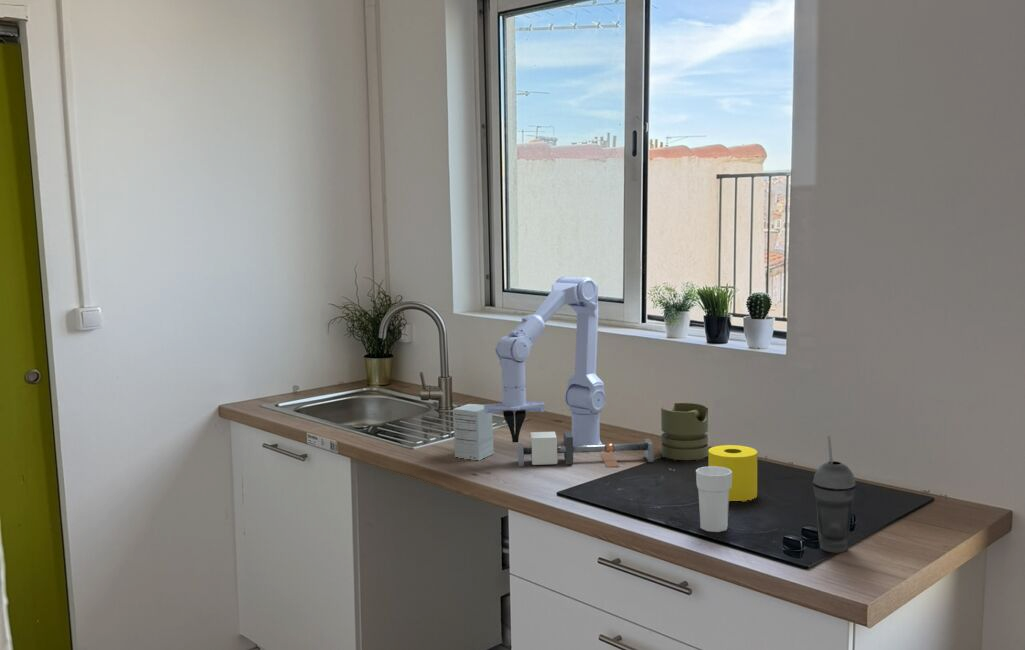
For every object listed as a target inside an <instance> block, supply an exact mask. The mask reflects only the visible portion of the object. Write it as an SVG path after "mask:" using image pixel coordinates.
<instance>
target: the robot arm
mask: <svg viewBox="0 0 1025 650" xmlns="http://www.w3.org/2000/svg"><path fill="white" fill-rule="evenodd" d="M598 301H599V285H598V284H597V283H596V281H595V280H593V278H591V277H588V276H587V277H574V276H573V277H572V276H565V275H564V276H559V277H558V278H557V279H556V280H555V282H554V283H553V284H551V291H550V292H549V294H548V295H547V296H546V298H545V299H544V300H543V302H542V303H541V304H540V306H539V307H538V308H537V309H536V311H535V312H534V313H533V314H526V315H523V316H522V317H521V321H519V323H518V324H517V325H516V326H515V328H514V329H512V330H511V331H510V333H509V334H508V335H505V336H502V337H501V338H500V339H499V340H498V342H497V345H496V348H494V349H495V350H494V351H495V354H496V357H498V360H499V366H500V367H501V368H500V369H501V398H502V399H501V400H502V401H501V402H497V403H486V404H483V405H484V414H489V413H492V414H493V413H494V414H497V413H498V414H500V413H502V414H503V418H504V420H505V422H506V424H507V427H508V429H509V431H510V436H511V441H512V443H519V438H520V433H521V429H522V427H523V424H524V422H525V419H526V417H527V415H526V414H527V412H529V413H531V412H540V413H544V412H545V411H546V410H545V408H546V407H545V402H535V401H534V402H533V401H532V402H531V401H527V392H526V391H527V389H526V388H527V387H526V385H527V384H526V359H528V358H529V356H530V353H531V348H533V344H534V343H535V342H536V341H537V339H538V338H539V337H541V335H542V334H543V333H544V331H545V329H546V327H545V323H547V321H549V320H550V319H551V318H552V317H553V316H554V315H555V314H556V313H557V312H558V311H559V310H560V309H561V308H562V307H563V306H564V305H567V306H569V307H570V308H571V309H572V310H573V311H574V312H575V313H576V332H575V335H576V336H575V337H576V338H575V357H574V359H575V360H574V361H575V364H574V374H573V375H572V376H571V377H570V378H569V379H568V380H567V385H566V387H567V388H566V389H565V393H564V402H565V404H566V406H567V407H568V408H569V409H568V410H569V411H570V412H571V434H572V436H573V445H600V444H603V443H602V441H601V439H600V438H601V435H600V434H601V433H600V432H601V431H600V429H601V428H600V413H601V412H602V410H603V409H604V407H605V406H606V401H607V400H606V399H607V397H606V393H605V383H604V382H603V381H602V379H601V378H600V377H599V376H597V359H598V357H597V354H598V336H599V335H598V331H599V309H600V308H599V302H598Z"/></svg>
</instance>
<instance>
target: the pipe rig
mask: <svg viewBox="0 0 1025 650" xmlns="http://www.w3.org/2000/svg"><path fill="white" fill-rule="evenodd" d="M635 451H639V452H640V451H644V458H645V460H646V461H647V462H648V463H653V462H654V442H653V441H652V440H651V439H650V438H644V442H636V443H635V442H633V443H614V442H613V443H611V442H608V443H604V444H603V443H602V444H600V445H573V454H582V453H586V454H587V453H603V454H600V456H601V459H602V461H603V463H604V465H605V467H606V468H617V467H619V468H620V465H619V462H618V461H617V459H616V458H615V456H614V453H615V452H635ZM564 453H566V446H564V445H557V455H558V454H564ZM605 453H607V454H605ZM531 454H532V447H531V446H524V444H523V442H520V443H519V442H517V462H518V463H517V464H518V467H519V468H523V467H525V459H524V457H525V455H526V456H527V455H530V456H531Z"/></svg>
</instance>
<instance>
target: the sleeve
mask: <svg viewBox="0 0 1025 650" xmlns="http://www.w3.org/2000/svg"><path fill="white" fill-rule="evenodd" d="M529 433H530V447H532V454H530V460H531V464H532V465H534V466H536V465H537V466H539V465H540V466H543V465H558V454H557V446H558V439H557V435H556V434H557V433H556V431H536V432H535V431H534V432H533V431H532V432H529Z"/></svg>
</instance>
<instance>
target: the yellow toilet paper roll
mask: <svg viewBox="0 0 1025 650" xmlns="http://www.w3.org/2000/svg"><path fill="white" fill-rule="evenodd" d="M708 466H717V467H724V468H728V469H730V470H731V471H732V484H731V488H730V489H729V502H730V501H742V502H748V501H747V500H749V501H752V499H753V500H754V498H755V499H757V497H758V450H756V449H755V448H753V447H750V446H745V445H739V444H738V445H736V444H735V445H734V444H724V445H716V446H712V447H710V448H708Z"/></svg>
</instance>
